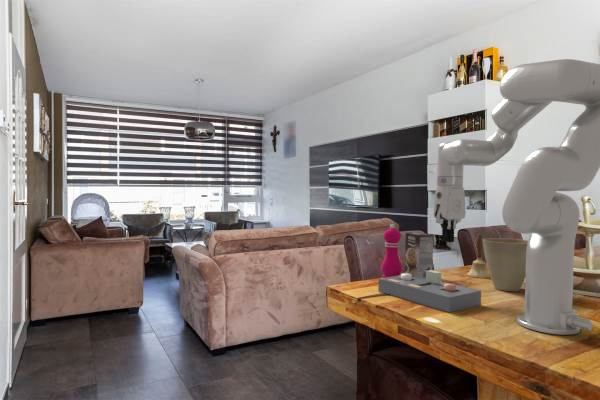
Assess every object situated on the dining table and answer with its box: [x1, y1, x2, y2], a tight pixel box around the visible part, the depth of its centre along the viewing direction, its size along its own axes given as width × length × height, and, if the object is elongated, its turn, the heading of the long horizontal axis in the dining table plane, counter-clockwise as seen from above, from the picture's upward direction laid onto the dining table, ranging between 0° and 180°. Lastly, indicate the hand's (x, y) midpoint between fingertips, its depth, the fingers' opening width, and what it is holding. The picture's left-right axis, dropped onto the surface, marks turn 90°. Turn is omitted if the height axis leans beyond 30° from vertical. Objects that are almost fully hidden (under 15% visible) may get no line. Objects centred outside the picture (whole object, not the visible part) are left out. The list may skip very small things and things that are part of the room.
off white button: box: [400, 272, 412, 281], centre depth 126 cm, size 3×3×2 cm
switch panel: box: [377, 274, 482, 313], centre depth 119 cm, size 26×14×4 cm, turn 33°
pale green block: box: [426, 269, 442, 285], centre depth 121 cm, size 4×2×6 cm, turn 33°
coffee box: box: [404, 231, 434, 278], centre depth 150 cm, size 9×6×16 cm
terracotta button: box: [444, 282, 457, 292], centre depth 112 cm, size 3×3×2 cm
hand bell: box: [466, 233, 491, 279], centre depth 152 cm, size 8×8×16 cm
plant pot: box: [483, 237, 529, 292], centre depth 131 cm, size 15×15×16 cm
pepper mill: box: [380, 223, 403, 278], centre depth 142 cm, size 7×7×20 cm
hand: (447, 241), depth 125 cm, fingers closed
